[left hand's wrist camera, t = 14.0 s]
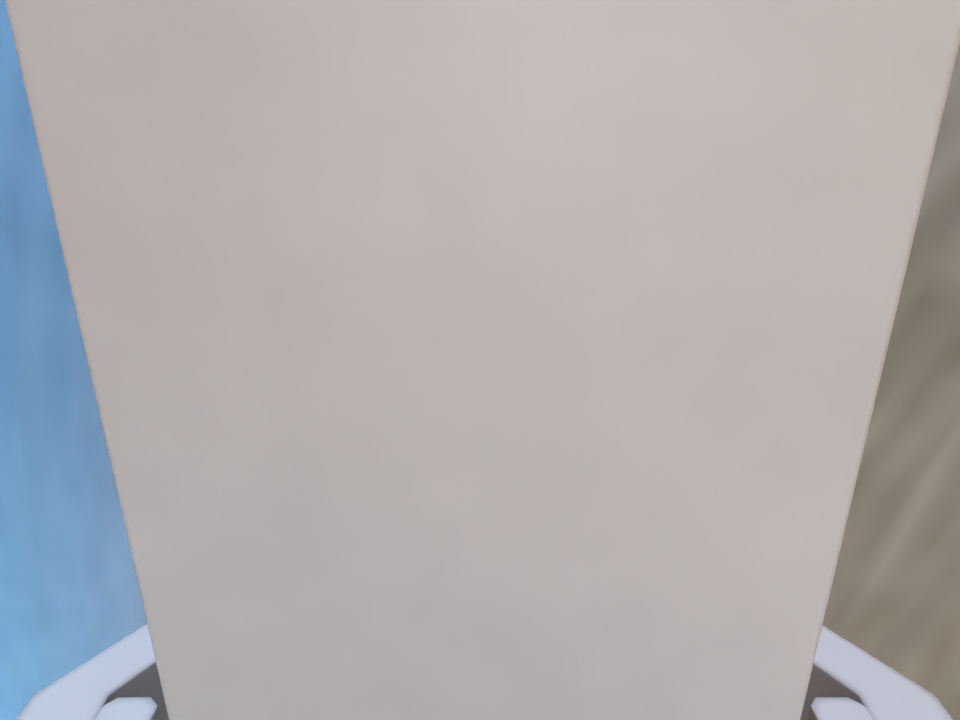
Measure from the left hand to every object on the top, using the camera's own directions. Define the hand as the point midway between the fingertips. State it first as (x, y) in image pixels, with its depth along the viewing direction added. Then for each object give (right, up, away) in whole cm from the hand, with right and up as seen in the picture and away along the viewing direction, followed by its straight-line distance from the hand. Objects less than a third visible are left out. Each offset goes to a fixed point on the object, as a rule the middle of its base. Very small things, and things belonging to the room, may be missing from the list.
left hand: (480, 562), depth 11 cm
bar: (0, +11, 0) cm, 11 cm away
